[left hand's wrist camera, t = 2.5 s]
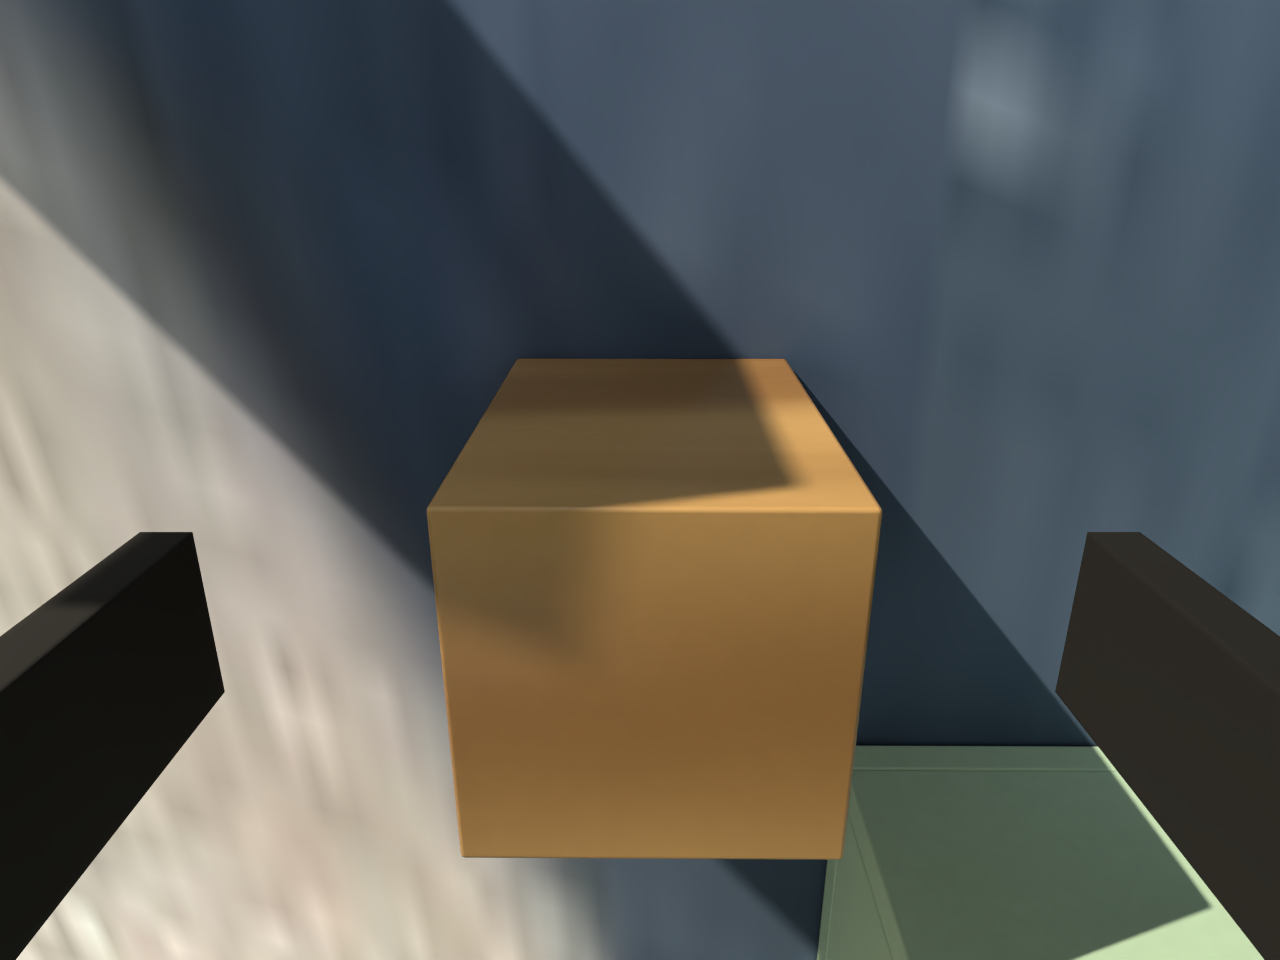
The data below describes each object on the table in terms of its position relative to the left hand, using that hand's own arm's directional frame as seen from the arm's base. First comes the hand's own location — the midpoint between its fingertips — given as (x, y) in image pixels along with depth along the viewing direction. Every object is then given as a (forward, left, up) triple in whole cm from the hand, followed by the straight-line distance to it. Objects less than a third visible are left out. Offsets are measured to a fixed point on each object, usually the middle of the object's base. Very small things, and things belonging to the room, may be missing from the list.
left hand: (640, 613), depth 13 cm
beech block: (0, 0, -4) cm, 4 cm away
